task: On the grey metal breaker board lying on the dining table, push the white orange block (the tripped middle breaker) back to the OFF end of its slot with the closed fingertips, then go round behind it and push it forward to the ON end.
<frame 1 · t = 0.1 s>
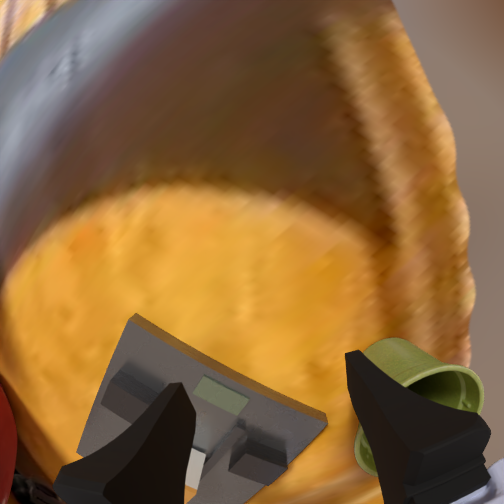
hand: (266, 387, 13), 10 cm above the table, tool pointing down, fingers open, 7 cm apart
plant pot: (383, 368, 23), on the table
panel: (183, 441, 25), on the table
white orange block: (172, 471, 21), point 4 cm above the table, slide at 0.0 cm
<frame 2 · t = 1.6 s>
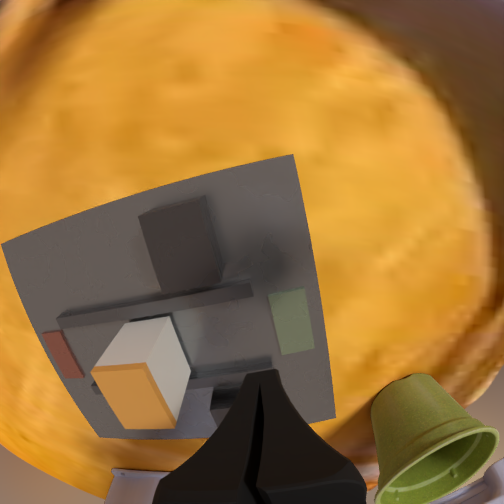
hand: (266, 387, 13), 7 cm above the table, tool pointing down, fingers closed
plant pot: (402, 398, 22), on the table
panel: (165, 333, 20), on the table
white orange block: (146, 372, 15), point 4 cm above the table, slide at 0.0 cm
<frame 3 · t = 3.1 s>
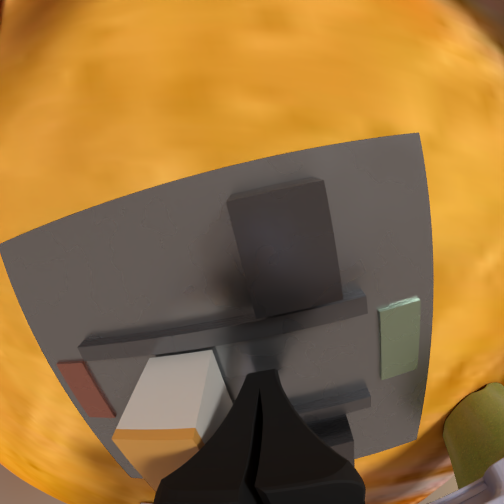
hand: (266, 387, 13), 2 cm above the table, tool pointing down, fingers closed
plant pot: (471, 410, 17), on the table
panel: (229, 361, 15), on the table
white orange block: (184, 425, 11), point 4 cm above the table, slide at -1.6 cm, touching gripper
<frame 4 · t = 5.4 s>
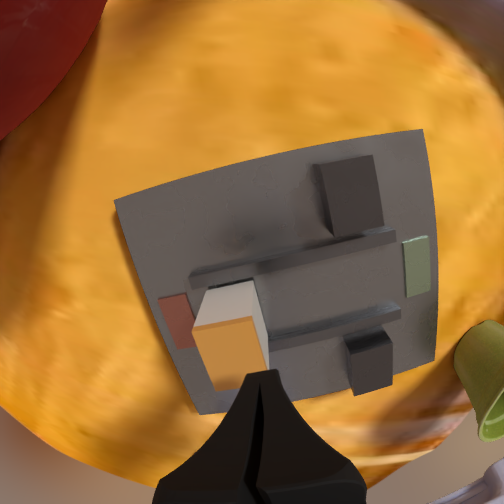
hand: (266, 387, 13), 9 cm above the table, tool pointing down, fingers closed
plant pot: (474, 345, 23), on the table
mixing bowl: (29, 33, 16), on the table
panel: (299, 287, 21), on the table
white orange block: (235, 333, 17), point 4 cm above the table, slide at -4.2 cm
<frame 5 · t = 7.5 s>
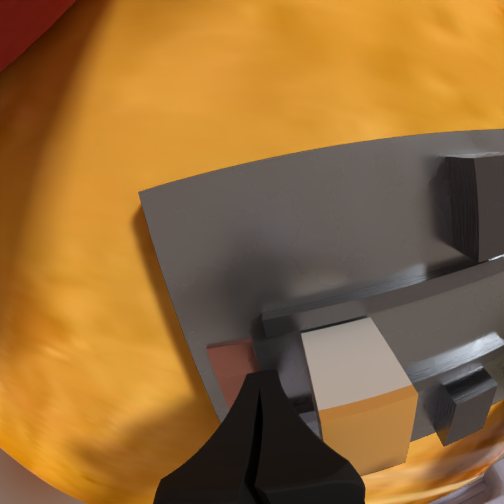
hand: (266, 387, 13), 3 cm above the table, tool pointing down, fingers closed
panel: (399, 323, 14), on the table
white orange block: (353, 399, 11), point 4 cm above the table, slide at -3.6 cm, touching gripper
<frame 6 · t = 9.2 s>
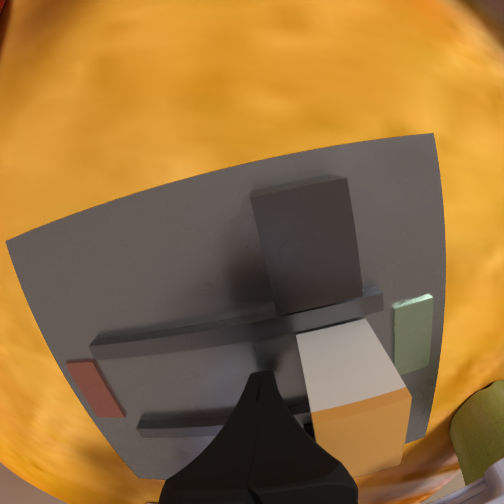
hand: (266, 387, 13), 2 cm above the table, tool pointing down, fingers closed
plant pot: (477, 407, 17), on the table
panel: (242, 359, 15), on the table
white orange block: (348, 400, 11), point 4 cm above the table, slide at 4.3 cm, touching gripper
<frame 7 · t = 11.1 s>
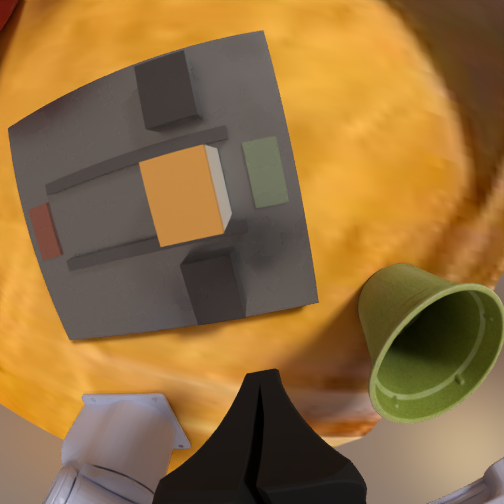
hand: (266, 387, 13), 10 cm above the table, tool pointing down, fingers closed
plant pot: (391, 298, 22), on the table
panel: (145, 199, 20), on the table
white orange block: (191, 191, 16), point 4 cm above the table, slide at 4.2 cm
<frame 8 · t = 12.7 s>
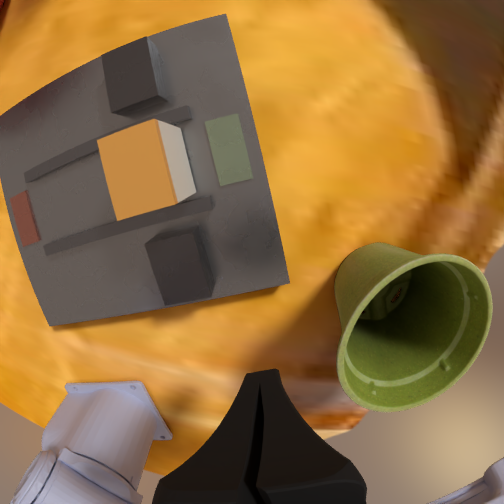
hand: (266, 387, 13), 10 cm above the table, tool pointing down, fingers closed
plant pot: (371, 280, 22), on the table
panel: (116, 183, 20), on the table
white orange block: (151, 168, 15), point 4 cm above the table, slide at 4.2 cm
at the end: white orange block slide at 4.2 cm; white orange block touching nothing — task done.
